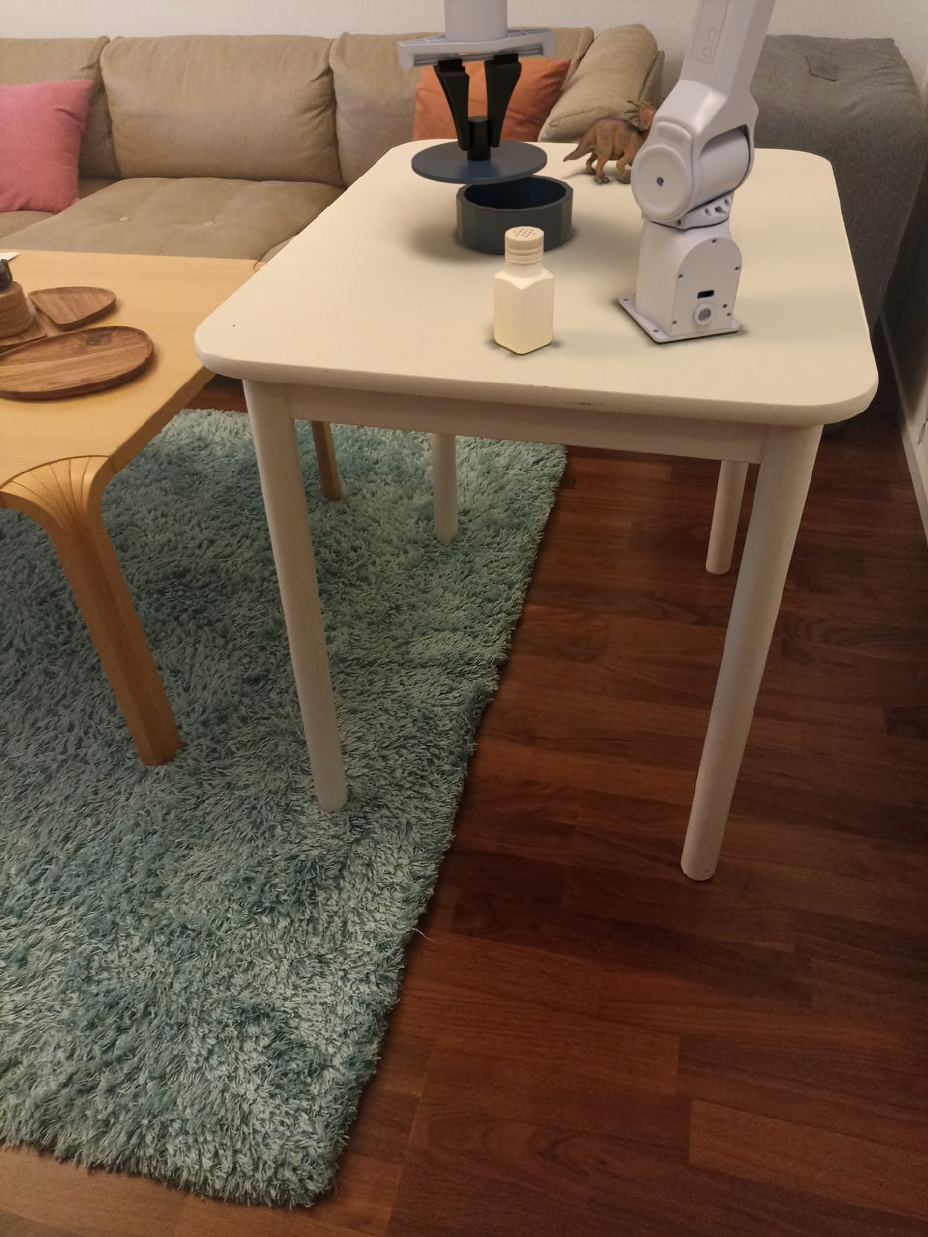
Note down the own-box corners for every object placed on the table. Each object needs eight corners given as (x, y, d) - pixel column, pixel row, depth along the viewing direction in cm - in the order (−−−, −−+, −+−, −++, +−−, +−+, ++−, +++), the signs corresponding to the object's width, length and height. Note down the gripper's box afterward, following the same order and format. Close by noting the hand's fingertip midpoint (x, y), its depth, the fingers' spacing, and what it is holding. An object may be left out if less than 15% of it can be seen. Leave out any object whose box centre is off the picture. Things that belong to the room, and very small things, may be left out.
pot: (586, 246, 93) (589, 202, 90) (474, 260, 91) (473, 217, 88) (550, 209, 102) (551, 168, 99) (447, 221, 100) (445, 181, 97)
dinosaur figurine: (669, 169, 111) (679, 87, 104) (671, 184, 107) (682, 99, 100) (563, 169, 112) (567, 88, 106) (561, 183, 108) (564, 100, 102)
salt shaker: (525, 329, 78) (526, 220, 72) (555, 343, 76) (559, 232, 69) (491, 342, 76) (489, 232, 70) (521, 358, 74) (521, 245, 68)
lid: (565, 181, 83) (567, 128, 80) (427, 197, 81) (423, 143, 78) (524, 144, 93) (525, 95, 89) (400, 158, 91) (396, 108, 87)
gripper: (539, -35, 80) (536, 128, 89) (387, -23, 78) (400, 143, 87) (563, -26, 75) (558, 146, 84) (401, -13, 73) (413, 162, 82)
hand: (479, 146), depth 85 cm, fingers closed on lid, 2 cm apart
